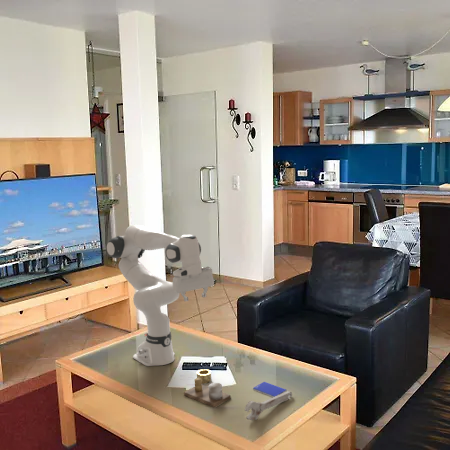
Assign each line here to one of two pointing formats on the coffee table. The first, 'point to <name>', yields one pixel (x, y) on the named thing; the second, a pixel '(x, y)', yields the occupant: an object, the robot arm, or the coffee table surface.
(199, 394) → the stub board
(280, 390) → the hard drive
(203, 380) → the ring
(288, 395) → the wrench
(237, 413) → the coffee table surface
